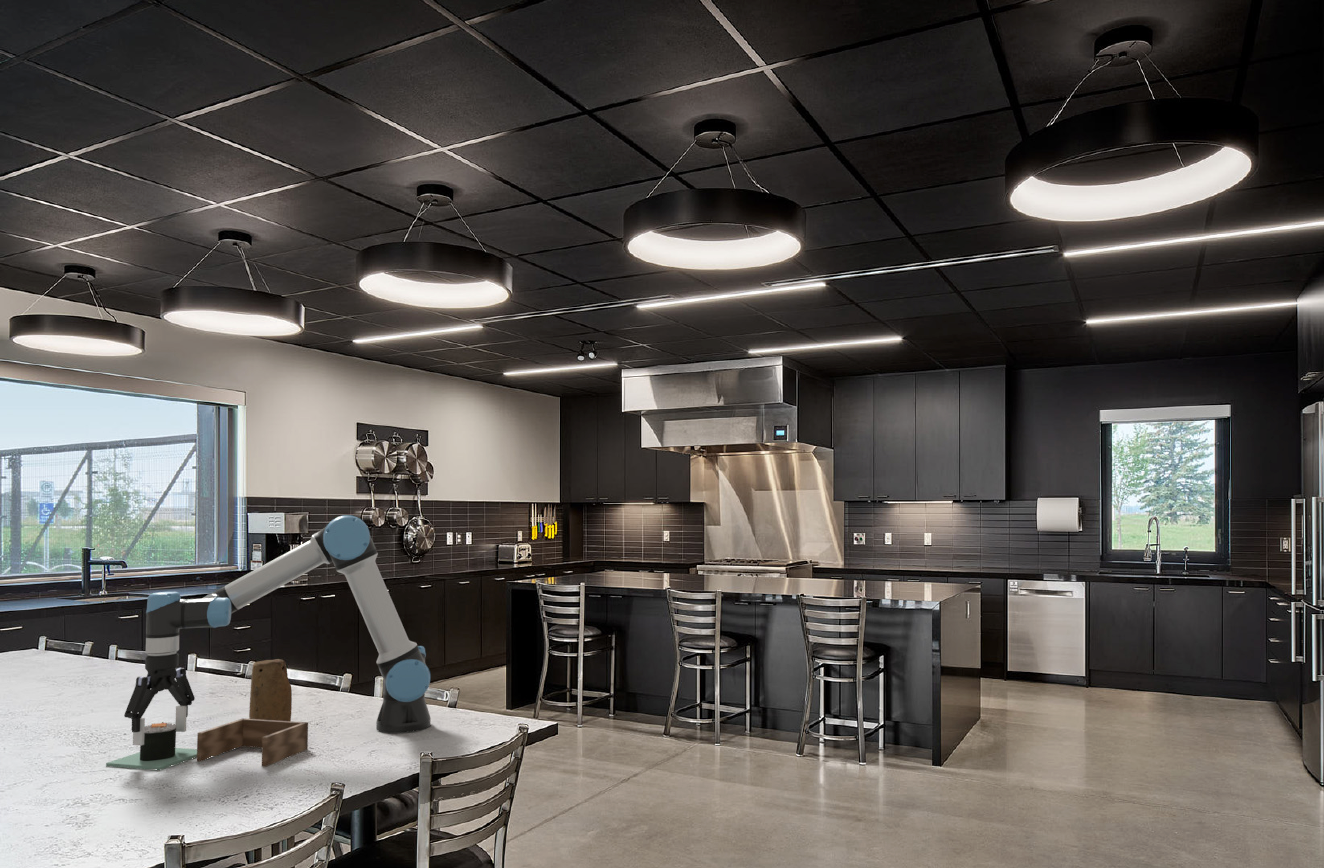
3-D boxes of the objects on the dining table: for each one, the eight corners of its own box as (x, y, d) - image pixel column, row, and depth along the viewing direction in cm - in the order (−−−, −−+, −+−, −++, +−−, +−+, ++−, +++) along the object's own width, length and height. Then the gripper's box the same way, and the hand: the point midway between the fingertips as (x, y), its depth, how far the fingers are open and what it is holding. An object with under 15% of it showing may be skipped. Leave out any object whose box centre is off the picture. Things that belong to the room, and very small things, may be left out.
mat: (207, 753, 236) (208, 750, 236) (159, 770, 220) (159, 767, 220) (157, 749, 240) (157, 746, 240) (106, 766, 224) (106, 763, 225)
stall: (241, 745, 244) (242, 718, 244) (307, 749, 239) (308, 722, 239) (196, 761, 228) (197, 732, 229) (265, 766, 223) (266, 737, 224)
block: (250, 736, 253) (252, 663, 255) (248, 731, 260) (250, 660, 261) (292, 731, 258) (293, 660, 260) (288, 726, 265) (290, 656, 266)
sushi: (139, 762, 225) (140, 729, 225) (140, 754, 232) (142, 722, 233) (175, 758, 228) (177, 726, 229) (176, 750, 236) (177, 719, 236)
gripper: (187, 645, 245) (185, 725, 244) (109, 661, 221) (106, 750, 220) (210, 646, 243) (208, 726, 242) (134, 662, 219) (131, 751, 218)
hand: (160, 738), depth 231 cm, fingers open, 13 cm apart
